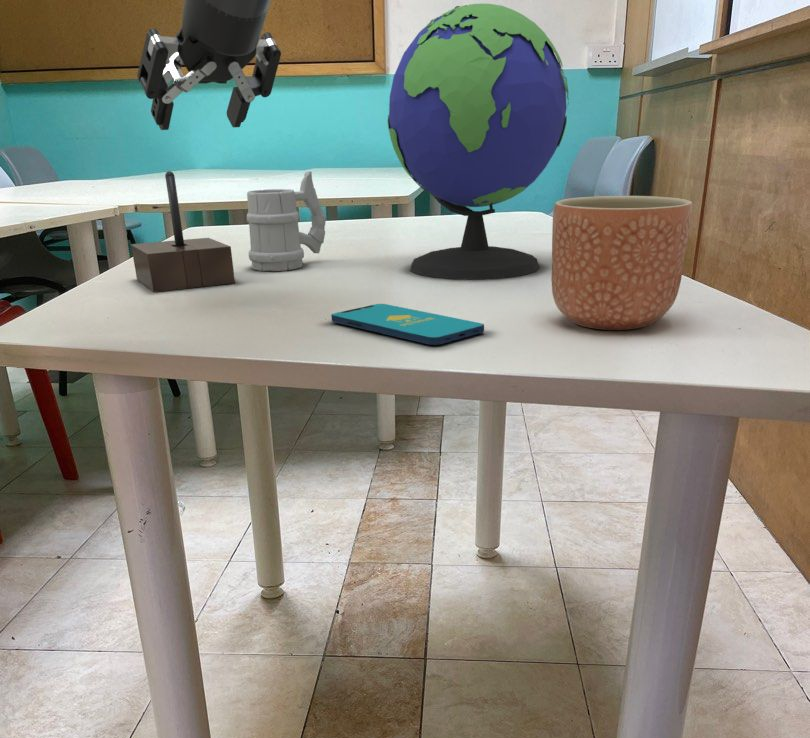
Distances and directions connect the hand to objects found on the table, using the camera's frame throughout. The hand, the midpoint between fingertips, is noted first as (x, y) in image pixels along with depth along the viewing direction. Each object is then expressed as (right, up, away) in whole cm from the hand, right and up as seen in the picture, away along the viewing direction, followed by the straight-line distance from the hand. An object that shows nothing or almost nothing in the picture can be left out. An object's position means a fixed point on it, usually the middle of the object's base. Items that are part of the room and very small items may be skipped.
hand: (197, 122), depth 90 cm
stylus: (-6, -13, +15) cm, 21 cm away
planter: (+43, -25, -11) cm, 51 cm away
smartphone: (+23, -26, -11) cm, 36 cm away
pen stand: (-6, -13, +15) cm, 21 cm away
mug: (+7, -8, +25) cm, 27 cm away
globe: (+32, -10, +20) cm, 39 cm away
